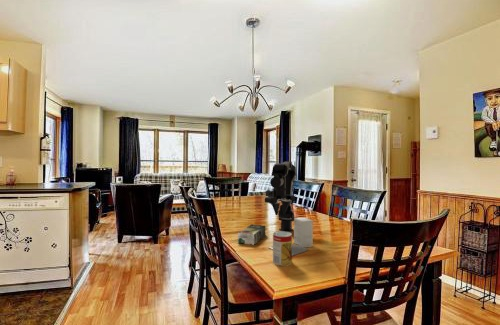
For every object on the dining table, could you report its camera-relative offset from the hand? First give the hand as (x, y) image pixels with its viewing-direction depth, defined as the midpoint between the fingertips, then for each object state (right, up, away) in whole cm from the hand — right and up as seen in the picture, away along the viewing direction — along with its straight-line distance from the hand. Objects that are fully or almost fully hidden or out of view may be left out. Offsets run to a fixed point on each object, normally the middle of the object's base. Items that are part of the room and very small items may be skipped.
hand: (280, 214), depth 146 cm
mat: (+2, -13, -19) cm, 23 cm away
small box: (+10, -13, -12) cm, 21 cm away
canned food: (-3, -13, -35) cm, 38 cm away
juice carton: (-16, -13, -3) cm, 21 cm away
